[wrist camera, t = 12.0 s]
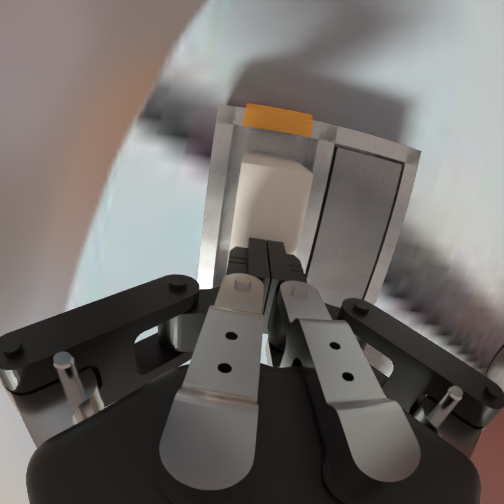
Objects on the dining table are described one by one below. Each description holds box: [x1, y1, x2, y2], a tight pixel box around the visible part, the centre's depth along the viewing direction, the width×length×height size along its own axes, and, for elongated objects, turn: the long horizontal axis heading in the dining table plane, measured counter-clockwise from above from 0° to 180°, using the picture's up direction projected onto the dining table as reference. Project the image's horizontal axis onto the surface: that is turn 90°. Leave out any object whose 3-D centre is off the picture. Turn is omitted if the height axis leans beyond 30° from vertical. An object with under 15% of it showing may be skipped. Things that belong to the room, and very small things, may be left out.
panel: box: [226, 150, 313, 271], centre depth 17 cm, size 3×8×7 cm, turn 171°
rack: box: [198, 103, 421, 308], centre depth 19 cm, size 12×13×4 cm
